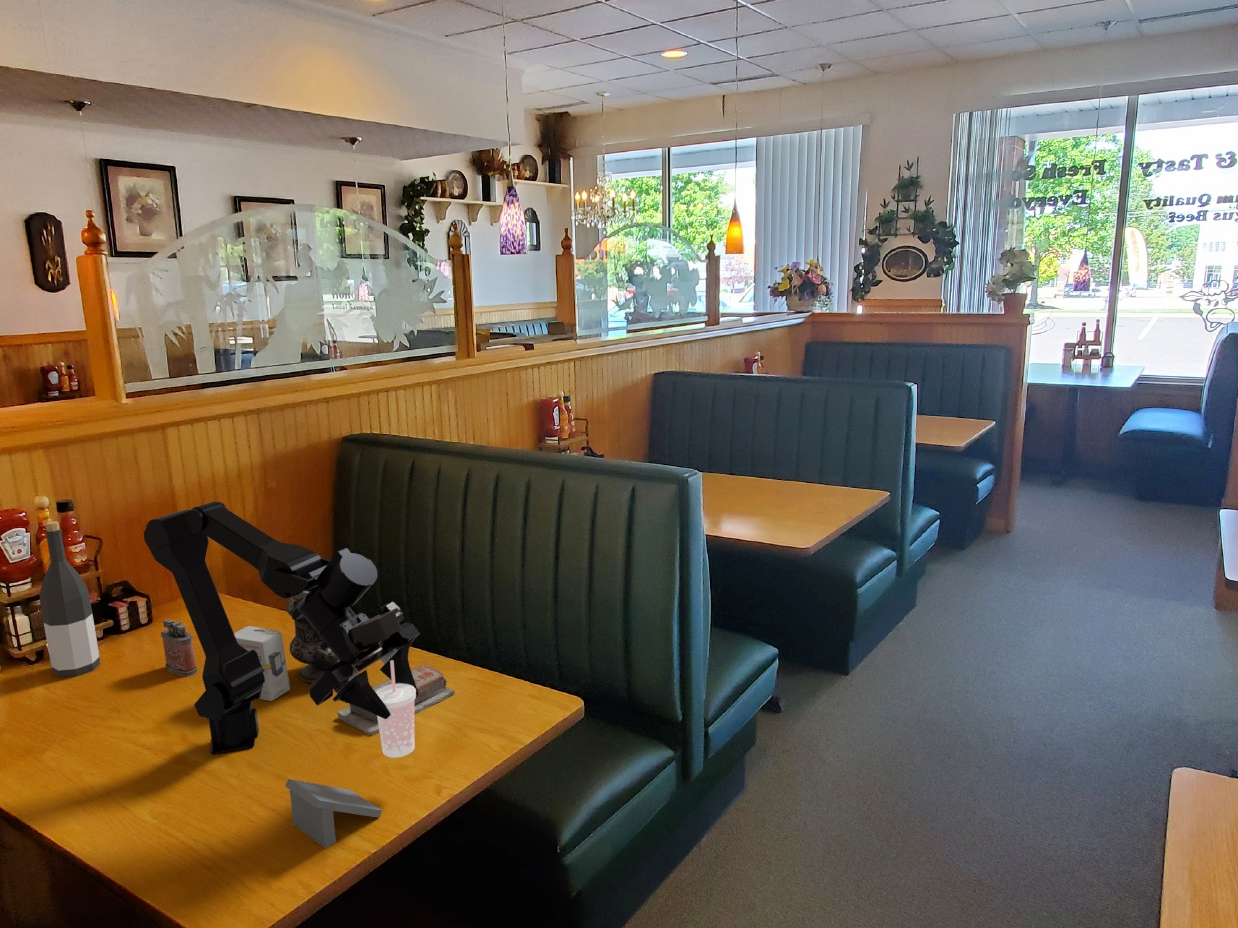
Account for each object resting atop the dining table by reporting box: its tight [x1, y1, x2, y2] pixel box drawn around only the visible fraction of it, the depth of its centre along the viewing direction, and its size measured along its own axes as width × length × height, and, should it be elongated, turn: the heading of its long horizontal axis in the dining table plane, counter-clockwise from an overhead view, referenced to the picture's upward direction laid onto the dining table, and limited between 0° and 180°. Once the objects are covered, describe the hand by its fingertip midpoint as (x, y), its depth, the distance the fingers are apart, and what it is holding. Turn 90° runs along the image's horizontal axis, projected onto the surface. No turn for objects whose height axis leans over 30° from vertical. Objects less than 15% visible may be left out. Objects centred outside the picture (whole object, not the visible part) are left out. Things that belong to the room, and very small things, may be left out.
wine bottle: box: [39, 521, 101, 678], centre depth 167 cm, size 8×8×30 cm
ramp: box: [284, 778, 383, 849], centre depth 120 cm, size 10×8×7 cm
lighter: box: [160, 618, 198, 677], centre depth 168 cm, size 8×3×10 cm, turn 58°
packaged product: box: [336, 664, 456, 736], centre depth 152 cm, size 18×5×10 cm
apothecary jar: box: [285, 586, 339, 684], centre depth 165 cm, size 12×12×18 cm
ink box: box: [234, 625, 291, 702], centre depth 157 cm, size 9×5×12 cm, turn 68°
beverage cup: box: [375, 660, 416, 759], centre depth 125 cm, size 6×6×14 cm
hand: (402, 706), depth 125 cm, fingers closed on beverage cup, 6 cm apart
